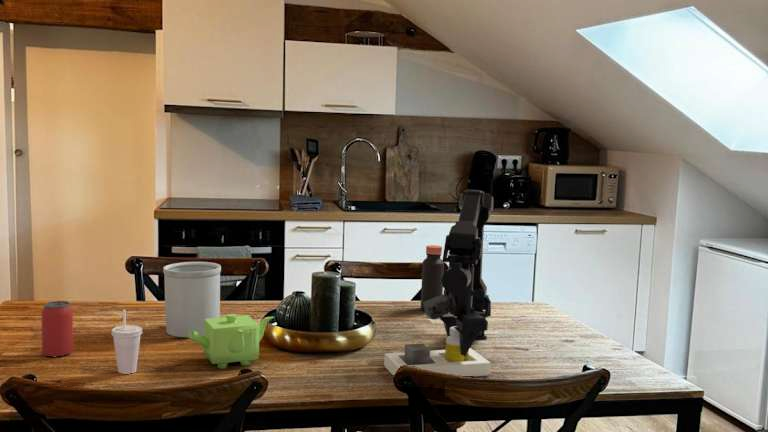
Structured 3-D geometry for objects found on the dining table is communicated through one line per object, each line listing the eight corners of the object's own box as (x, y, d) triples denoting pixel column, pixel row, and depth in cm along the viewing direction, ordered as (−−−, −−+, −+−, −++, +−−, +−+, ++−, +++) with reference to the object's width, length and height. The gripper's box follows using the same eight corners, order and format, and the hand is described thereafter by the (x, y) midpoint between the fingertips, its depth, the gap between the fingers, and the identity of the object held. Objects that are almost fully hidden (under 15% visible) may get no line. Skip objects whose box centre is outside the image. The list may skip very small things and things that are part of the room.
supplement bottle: (466, 374, 160) (468, 332, 158) (443, 371, 161) (445, 330, 160) (468, 366, 165) (470, 326, 164) (445, 364, 166) (447, 324, 165)
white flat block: (469, 360, 170) (470, 348, 169) (489, 375, 159) (490, 362, 159) (384, 365, 163) (384, 353, 163) (399, 382, 153) (399, 369, 152)
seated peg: (422, 368, 162) (423, 343, 162) (428, 374, 158) (430, 349, 158) (403, 369, 161) (404, 344, 160) (410, 376, 157) (411, 350, 156)
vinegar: (435, 313, 214) (438, 249, 211) (416, 309, 217) (419, 246, 215) (445, 308, 219) (448, 246, 217) (426, 305, 223) (429, 244, 221)
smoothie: (116, 366, 156) (116, 305, 154) (145, 367, 156) (145, 306, 154) (107, 376, 149) (107, 313, 148) (138, 377, 150) (138, 313, 148)
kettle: (273, 356, 167) (274, 311, 165) (246, 375, 153) (247, 326, 152) (218, 349, 171) (218, 304, 169) (186, 367, 157) (186, 319, 156)
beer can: (79, 351, 165) (78, 302, 164) (58, 359, 159) (57, 308, 157) (57, 348, 167) (56, 299, 166) (35, 355, 161) (34, 305, 159)
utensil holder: (151, 333, 181) (150, 267, 179) (187, 320, 195) (187, 259, 193) (197, 341, 176) (198, 274, 174) (231, 327, 190) (232, 264, 188)
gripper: (413, 277, 167) (411, 340, 169) (443, 295, 149) (440, 365, 151) (456, 276, 170) (453, 338, 172) (490, 293, 153) (486, 362, 154)
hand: (457, 350), depth 162 cm, fingers open, 7 cm apart
